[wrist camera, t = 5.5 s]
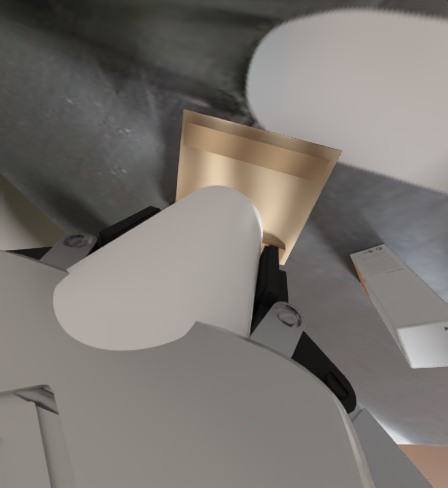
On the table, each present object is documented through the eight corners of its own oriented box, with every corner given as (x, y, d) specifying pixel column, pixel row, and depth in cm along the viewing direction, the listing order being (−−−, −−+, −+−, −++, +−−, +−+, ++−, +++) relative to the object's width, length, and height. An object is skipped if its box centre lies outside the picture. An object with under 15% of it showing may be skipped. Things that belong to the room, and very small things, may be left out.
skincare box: (347, 254, 26) (395, 327, 15) (384, 242, 24) (466, 317, 14) (360, 285, 27) (411, 370, 17) (395, 277, 25) (475, 366, 15)
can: (191, 169, 12) (-187, 290, 2) (279, 204, 12) (300, 524, 2) (175, 244, 16) (-3, 426, 6) (244, 273, 16) (185, 520, 5)
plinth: (331, 149, 20) (347, 151, 16) (282, 250, 28) (284, 272, 23) (197, 114, 22) (176, 106, 17) (185, 218, 29) (168, 233, 25)
